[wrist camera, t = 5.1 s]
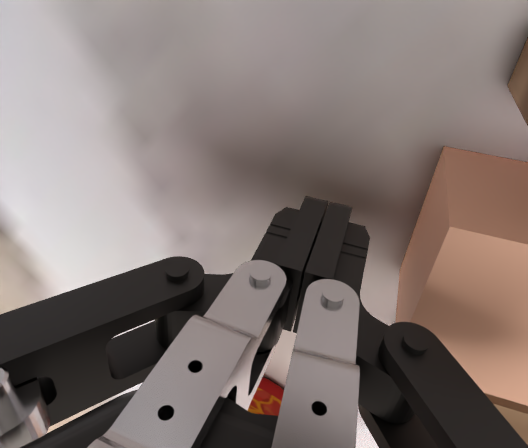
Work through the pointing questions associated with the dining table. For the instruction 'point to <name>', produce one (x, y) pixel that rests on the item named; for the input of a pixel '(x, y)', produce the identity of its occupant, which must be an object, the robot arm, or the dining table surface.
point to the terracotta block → (473, 268)
